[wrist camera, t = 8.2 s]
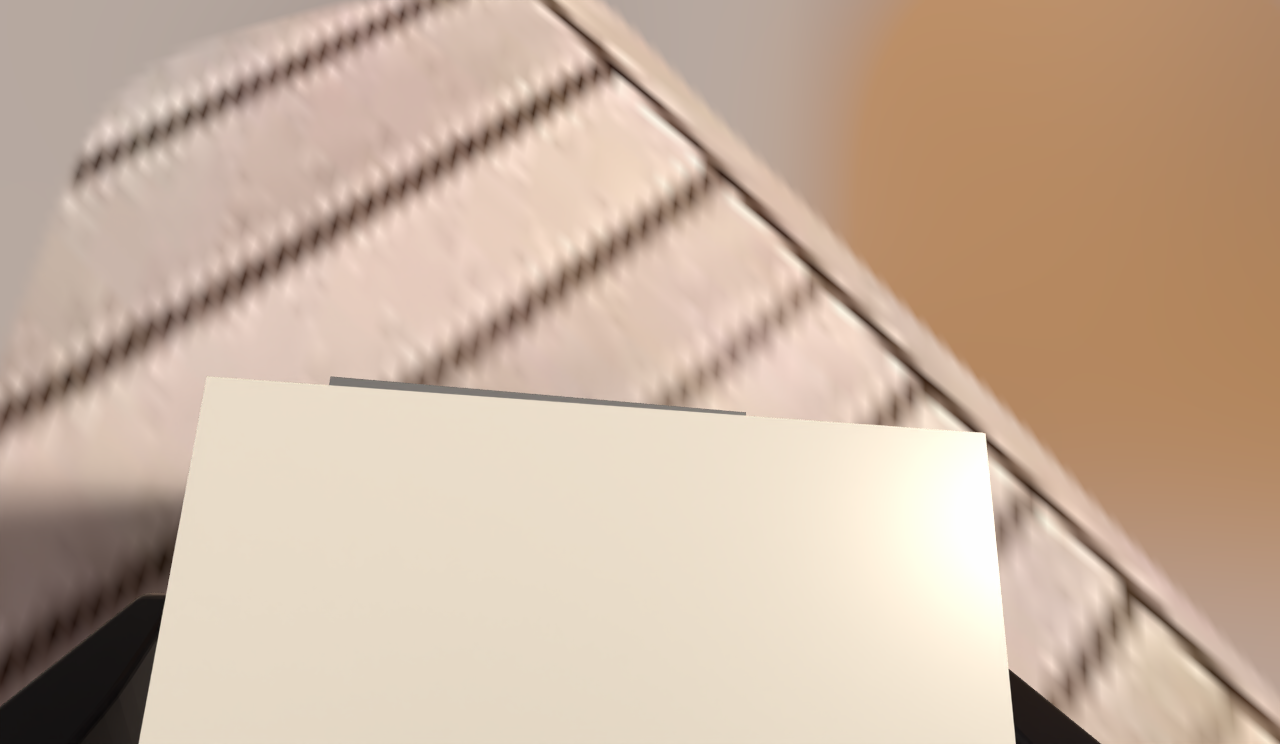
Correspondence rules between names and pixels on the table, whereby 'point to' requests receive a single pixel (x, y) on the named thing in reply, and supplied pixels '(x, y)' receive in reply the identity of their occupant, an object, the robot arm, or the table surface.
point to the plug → (574, 577)
